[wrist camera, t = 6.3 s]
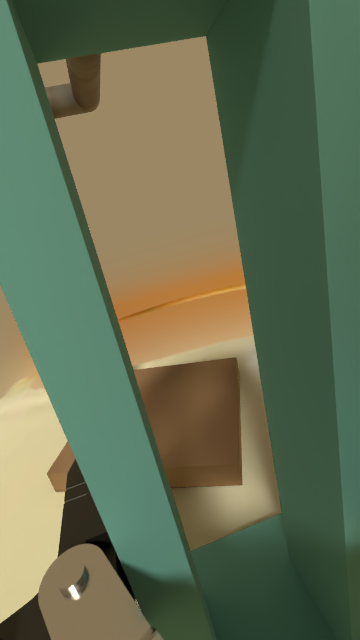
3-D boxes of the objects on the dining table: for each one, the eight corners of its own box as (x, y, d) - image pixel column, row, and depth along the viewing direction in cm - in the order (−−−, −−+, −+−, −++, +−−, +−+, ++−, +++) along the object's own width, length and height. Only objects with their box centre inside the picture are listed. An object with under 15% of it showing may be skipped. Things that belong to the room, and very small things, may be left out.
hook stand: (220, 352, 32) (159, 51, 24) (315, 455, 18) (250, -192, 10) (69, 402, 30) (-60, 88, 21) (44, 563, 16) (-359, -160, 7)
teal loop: (293, 524, 15) (217, -7, 8) (444, 758, 8) (652, -822, 2) (170, 577, 14) (-28, 28, 7) (233, 884, 8) (-959, -1392, 1)
